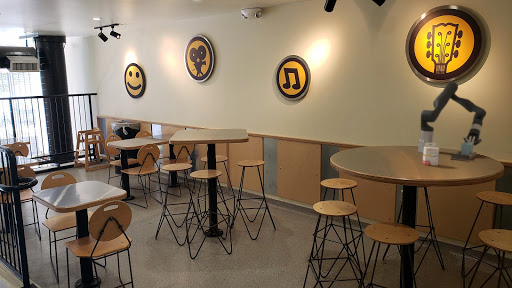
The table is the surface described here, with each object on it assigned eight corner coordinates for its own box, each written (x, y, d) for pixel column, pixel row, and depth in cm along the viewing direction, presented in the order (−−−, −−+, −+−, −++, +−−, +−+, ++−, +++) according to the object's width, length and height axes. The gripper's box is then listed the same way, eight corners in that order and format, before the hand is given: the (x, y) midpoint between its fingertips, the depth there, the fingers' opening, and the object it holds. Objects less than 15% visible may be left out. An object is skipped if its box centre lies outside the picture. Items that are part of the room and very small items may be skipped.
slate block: (463, 154, 292) (464, 142, 290) (472, 155, 288) (473, 143, 286) (460, 155, 286) (461, 143, 284) (469, 156, 282) (470, 144, 280)
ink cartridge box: (424, 165, 259) (426, 143, 257) (422, 163, 264) (423, 142, 261) (438, 165, 258) (439, 143, 256) (435, 163, 263) (437, 142, 261)
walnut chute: (459, 155, 295) (459, 149, 294) (476, 157, 287) (477, 151, 286) (450, 159, 278) (450, 153, 277) (468, 161, 270) (469, 155, 269)
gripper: (485, 135, 297) (479, 152, 290) (466, 133, 305) (460, 150, 298) (484, 128, 292) (478, 146, 285) (465, 127, 301) (459, 144, 294)
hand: (469, 148), depth 292 cm, fingers closed
